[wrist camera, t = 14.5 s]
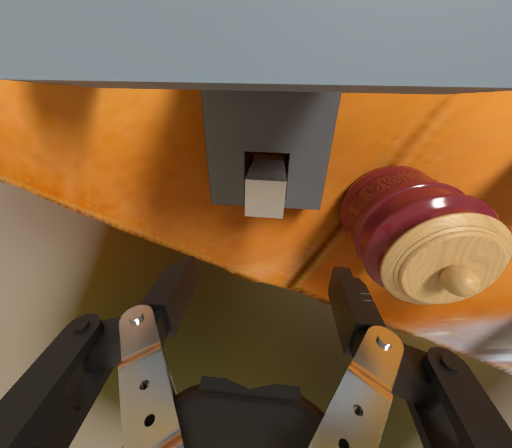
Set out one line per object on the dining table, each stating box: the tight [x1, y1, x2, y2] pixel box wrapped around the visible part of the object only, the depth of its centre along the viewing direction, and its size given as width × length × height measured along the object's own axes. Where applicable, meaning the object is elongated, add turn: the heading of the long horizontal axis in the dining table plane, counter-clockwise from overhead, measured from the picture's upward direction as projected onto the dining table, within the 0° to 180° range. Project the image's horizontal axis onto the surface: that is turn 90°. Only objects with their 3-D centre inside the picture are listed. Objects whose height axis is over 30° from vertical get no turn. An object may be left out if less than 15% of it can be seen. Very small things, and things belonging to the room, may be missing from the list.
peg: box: [245, 154, 287, 219], centre depth 27 cm, size 4×4×12 cm
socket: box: [201, 90, 341, 210], centre depth 28 cm, size 15×17×5 cm
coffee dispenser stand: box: [0, 0, 512, 94], centre depth 15 cm, size 17×8×24 cm, turn 89°
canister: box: [340, 166, 512, 305], centre depth 26 cm, size 13×13×18 cm
